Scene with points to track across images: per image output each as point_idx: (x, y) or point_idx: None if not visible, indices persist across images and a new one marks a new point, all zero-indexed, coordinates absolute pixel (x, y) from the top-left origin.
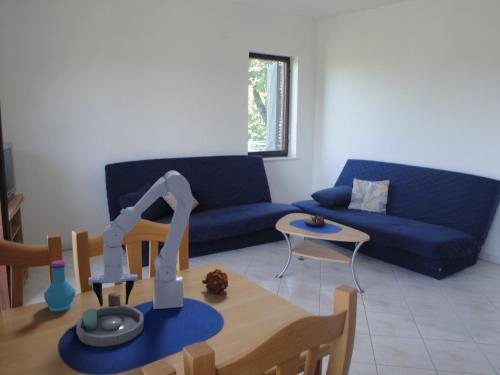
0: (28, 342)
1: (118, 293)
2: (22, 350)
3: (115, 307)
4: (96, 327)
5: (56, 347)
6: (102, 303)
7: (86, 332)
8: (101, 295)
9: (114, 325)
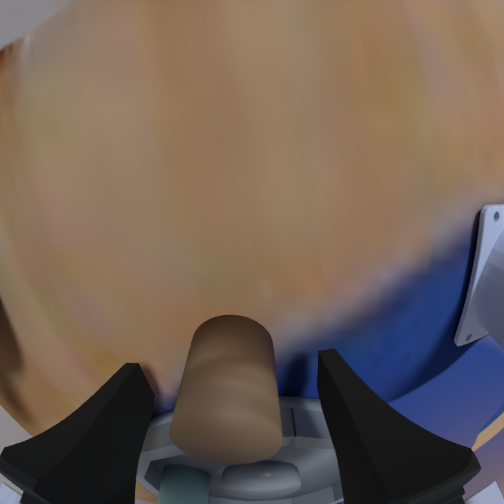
0: None
1: (261, 427)
2: None
3: None
4: (209, 481)
5: None
6: (145, 396)
7: None
8: (125, 451)
9: (278, 496)
